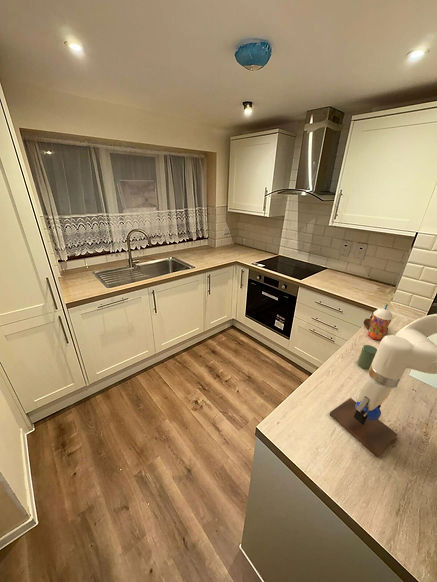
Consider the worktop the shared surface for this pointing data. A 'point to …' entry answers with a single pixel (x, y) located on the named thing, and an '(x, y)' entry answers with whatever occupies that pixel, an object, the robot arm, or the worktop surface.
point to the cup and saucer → (369, 322)
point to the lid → (371, 412)
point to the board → (364, 428)
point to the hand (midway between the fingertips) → (365, 415)
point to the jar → (366, 357)
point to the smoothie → (379, 323)
